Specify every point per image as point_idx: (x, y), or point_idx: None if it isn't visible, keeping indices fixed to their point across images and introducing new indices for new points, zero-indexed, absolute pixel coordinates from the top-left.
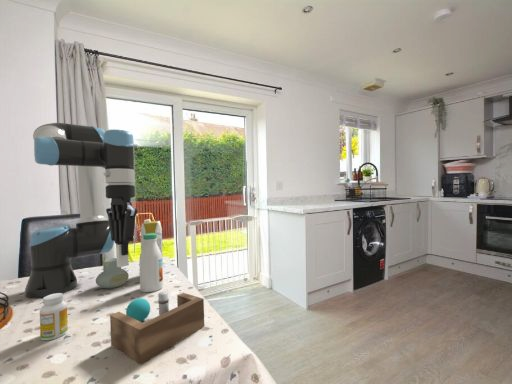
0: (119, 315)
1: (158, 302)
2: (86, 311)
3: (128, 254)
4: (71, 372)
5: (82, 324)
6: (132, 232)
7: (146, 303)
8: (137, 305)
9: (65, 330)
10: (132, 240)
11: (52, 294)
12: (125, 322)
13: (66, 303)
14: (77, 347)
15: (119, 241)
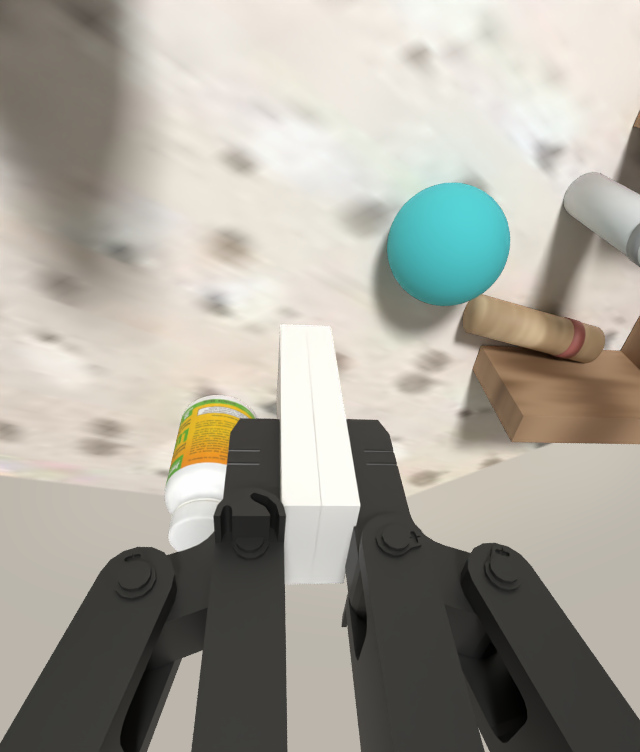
0: (551, 428)
1: (633, 262)
2: (83, 287)
3: (341, 393)
4: (471, 457)
5: (222, 351)
6: (613, 713)
7: (505, 240)
8: (486, 289)
9: (249, 413)
10: (517, 559)
11: (176, 536)
12: (615, 442)
13: (219, 473)
14: (375, 415)
15: (351, 618)
